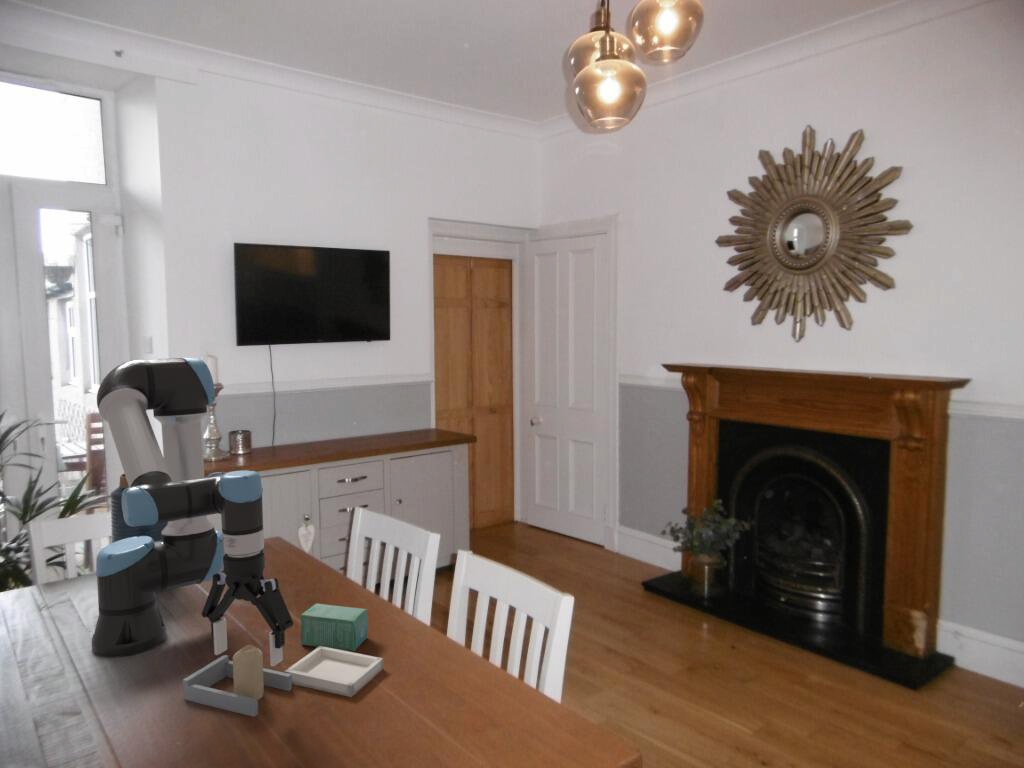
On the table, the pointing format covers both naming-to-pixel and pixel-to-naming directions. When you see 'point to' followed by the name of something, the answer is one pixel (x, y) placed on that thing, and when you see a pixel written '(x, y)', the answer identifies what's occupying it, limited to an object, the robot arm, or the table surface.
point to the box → (334, 627)
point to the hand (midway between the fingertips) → (248, 657)
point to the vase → (118, 523)
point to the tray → (335, 670)
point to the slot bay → (217, 670)
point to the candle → (248, 672)
